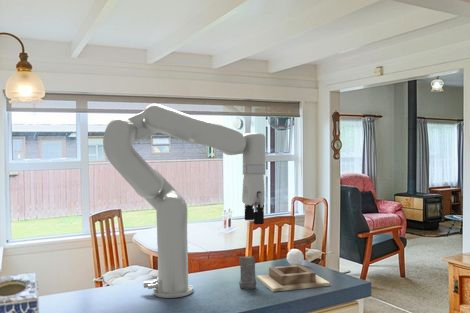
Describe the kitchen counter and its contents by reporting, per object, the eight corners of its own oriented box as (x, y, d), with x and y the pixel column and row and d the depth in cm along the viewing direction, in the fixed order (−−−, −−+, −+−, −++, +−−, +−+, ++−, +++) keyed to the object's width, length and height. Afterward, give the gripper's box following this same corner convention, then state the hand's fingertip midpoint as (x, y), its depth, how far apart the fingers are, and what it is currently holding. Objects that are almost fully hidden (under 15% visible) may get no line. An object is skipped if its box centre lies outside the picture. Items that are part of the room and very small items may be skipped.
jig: (272, 291, 136) (272, 279, 136) (256, 278, 151) (256, 267, 151) (329, 285, 141) (329, 273, 141) (308, 273, 156) (308, 262, 156)
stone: (255, 289, 139) (255, 258, 139) (238, 288, 140) (238, 257, 140) (256, 286, 142) (256, 256, 142) (240, 285, 143) (240, 255, 143)
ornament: (301, 268, 163) (288, 253, 163) (291, 271, 169) (279, 256, 169) (310, 257, 167) (298, 242, 167) (300, 260, 173) (288, 246, 173)
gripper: (235, 169, 149) (235, 219, 149) (251, 171, 133) (251, 226, 133) (256, 169, 152) (256, 218, 151) (274, 171, 135) (274, 225, 135)
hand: (253, 222), depth 142 cm, fingers open, 9 cm apart
